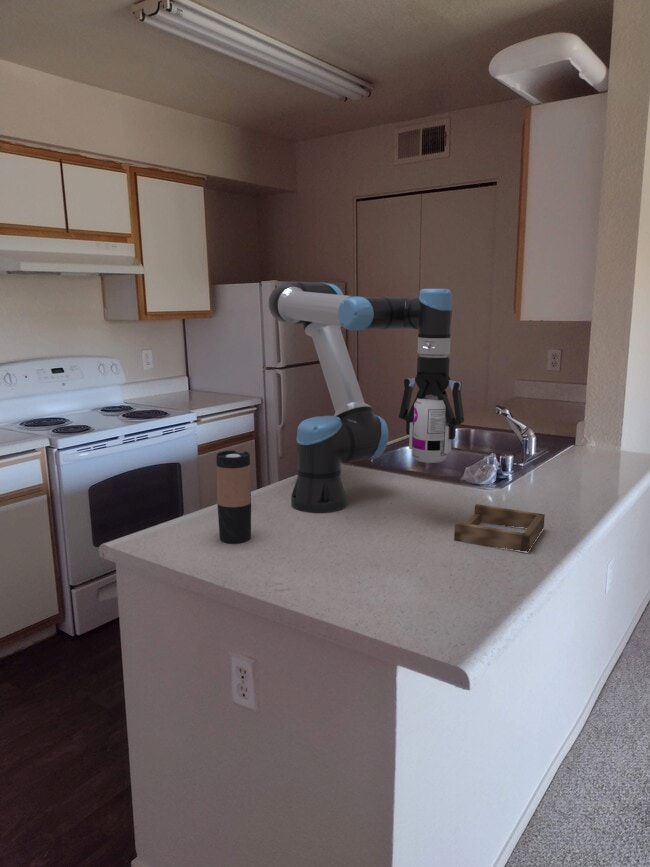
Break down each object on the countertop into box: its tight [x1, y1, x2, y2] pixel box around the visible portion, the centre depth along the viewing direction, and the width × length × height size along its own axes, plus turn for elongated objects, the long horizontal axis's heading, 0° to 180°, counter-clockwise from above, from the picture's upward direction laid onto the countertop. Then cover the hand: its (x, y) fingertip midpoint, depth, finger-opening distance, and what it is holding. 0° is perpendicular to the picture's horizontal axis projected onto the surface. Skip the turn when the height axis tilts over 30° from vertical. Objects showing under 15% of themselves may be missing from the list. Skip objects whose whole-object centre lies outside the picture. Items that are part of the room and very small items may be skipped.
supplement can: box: [411, 395, 449, 464], centre depth 155 cm, size 8×8×15 cm
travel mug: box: [215, 449, 252, 545], centre depth 147 cm, size 8×8×20 cm
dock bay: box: [453, 503, 546, 552], centre depth 151 cm, size 16×17×4 cm
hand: (429, 449), depth 156 cm, fingers closed on supplement can, 8 cm apart
